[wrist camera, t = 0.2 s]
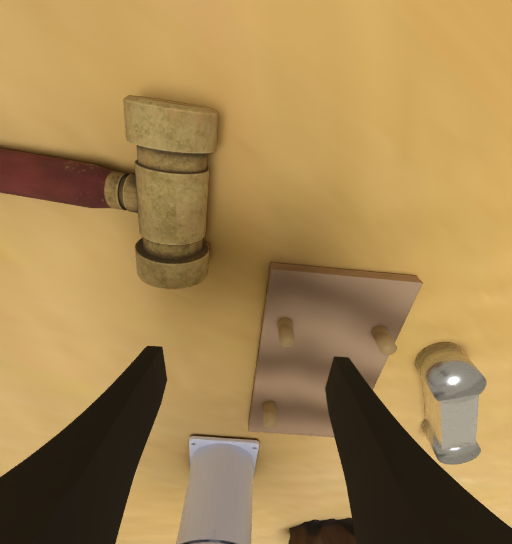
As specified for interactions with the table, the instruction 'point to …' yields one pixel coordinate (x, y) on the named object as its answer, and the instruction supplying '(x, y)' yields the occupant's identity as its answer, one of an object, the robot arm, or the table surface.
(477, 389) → the silver ball-ended bar
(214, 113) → the gavel
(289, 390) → the board
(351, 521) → the dark brown rock
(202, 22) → the table surface
